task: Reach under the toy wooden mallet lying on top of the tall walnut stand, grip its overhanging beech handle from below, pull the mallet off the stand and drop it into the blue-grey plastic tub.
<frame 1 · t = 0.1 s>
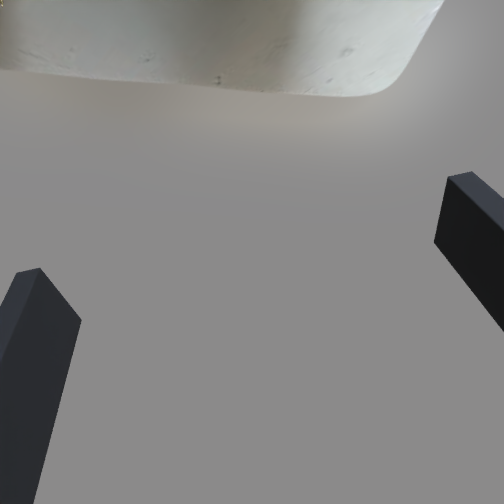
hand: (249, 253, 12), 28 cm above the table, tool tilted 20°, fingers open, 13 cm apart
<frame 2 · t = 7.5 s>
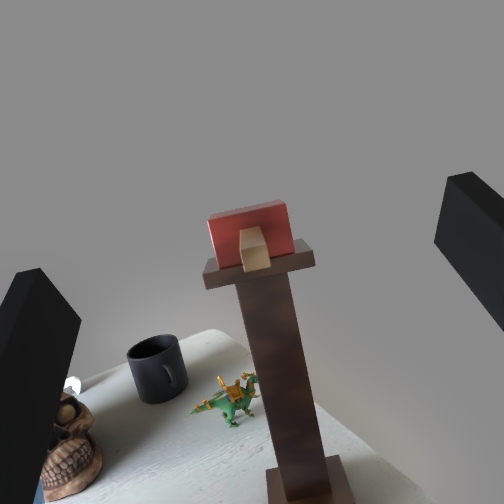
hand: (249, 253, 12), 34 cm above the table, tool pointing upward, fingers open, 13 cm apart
mug: (167, 392, 70), on the table
mallet: (257, 260, 33), point 28 cm above the table, touching stand
figurine: (233, 423, 57), on the table
tan skull model: (54, 465, 56), on the table
stand: (309, 496, 41), on the table
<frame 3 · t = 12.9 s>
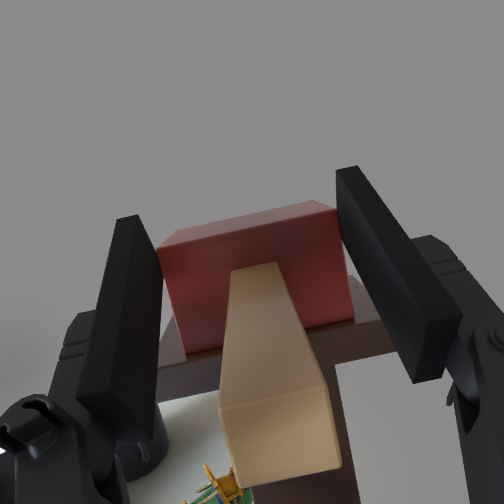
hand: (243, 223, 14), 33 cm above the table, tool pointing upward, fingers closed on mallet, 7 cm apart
mug: (140, 461, 51), on the table
mallet: (269, 337, 15), point 28 cm above the table, touching gripper, stand
when the fingers open (22 cm above the table, at t = 20.9 s): mallet drops 17 cm, resting on tub.
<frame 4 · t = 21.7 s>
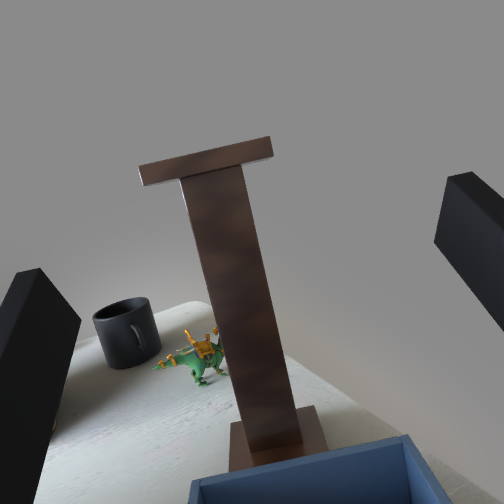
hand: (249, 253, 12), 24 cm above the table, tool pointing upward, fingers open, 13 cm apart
mug: (138, 358, 64), on the table
figurine: (204, 383, 51), on the table
stand: (278, 449, 36), on the table
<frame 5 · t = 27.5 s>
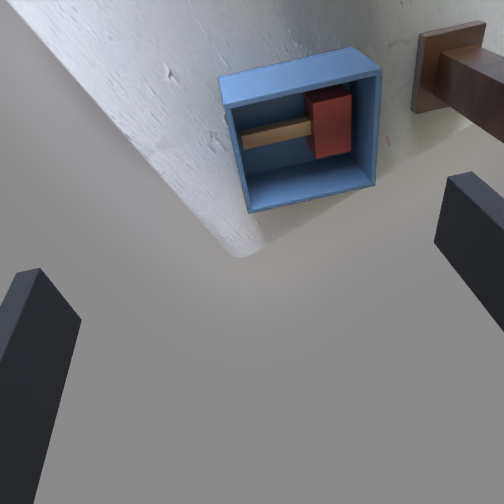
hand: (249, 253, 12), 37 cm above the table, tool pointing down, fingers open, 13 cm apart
tub: (290, 118, 47), on the table
mallet: (305, 117, 47), point 1 cm above the table, touching tub
stand: (442, 68, 46), on the table
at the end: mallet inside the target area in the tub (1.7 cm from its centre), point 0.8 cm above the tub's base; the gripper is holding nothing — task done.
